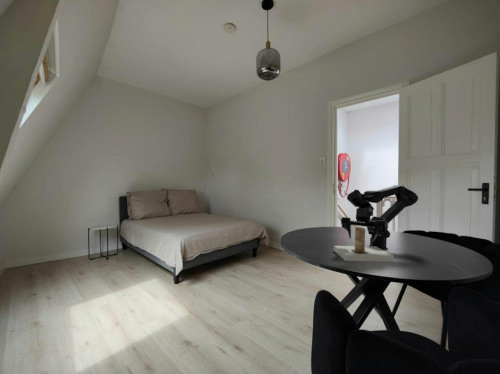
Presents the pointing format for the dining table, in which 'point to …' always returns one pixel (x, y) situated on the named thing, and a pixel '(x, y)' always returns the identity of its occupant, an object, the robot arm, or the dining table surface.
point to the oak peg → (359, 240)
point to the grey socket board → (369, 255)
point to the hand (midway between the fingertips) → (360, 239)
